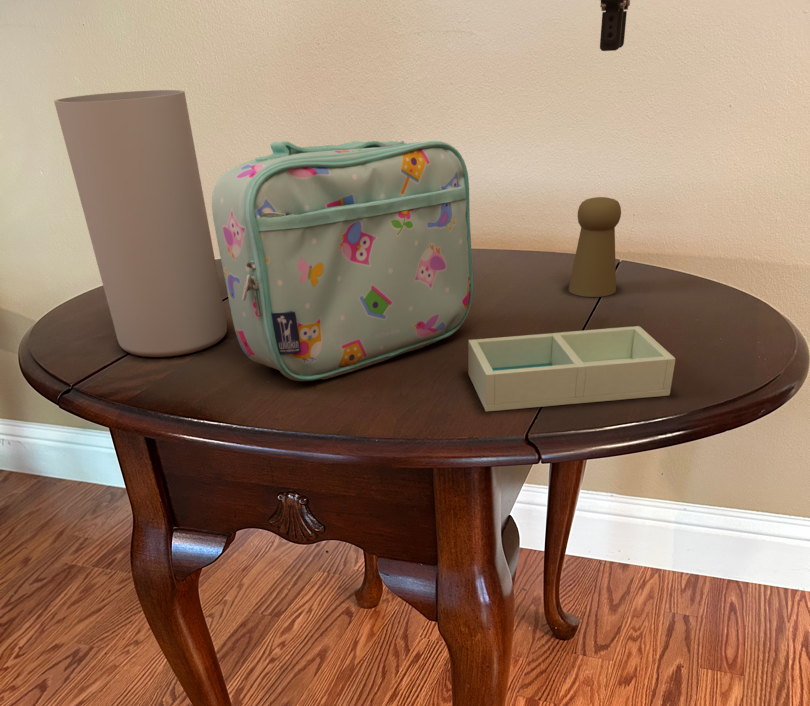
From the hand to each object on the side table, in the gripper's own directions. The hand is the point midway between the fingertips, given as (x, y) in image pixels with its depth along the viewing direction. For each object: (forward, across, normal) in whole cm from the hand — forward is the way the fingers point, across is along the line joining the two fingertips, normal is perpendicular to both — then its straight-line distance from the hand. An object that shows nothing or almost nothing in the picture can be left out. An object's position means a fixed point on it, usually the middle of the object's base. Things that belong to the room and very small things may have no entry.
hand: (611, 49), depth 91 cm
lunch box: (+26, -36, +22) cm, 49 cm away
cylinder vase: (+26, -34, +45) cm, 63 cm away
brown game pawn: (+26, -8, -1) cm, 27 cm away
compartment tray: (+26, -40, -1) cm, 47 cm away
